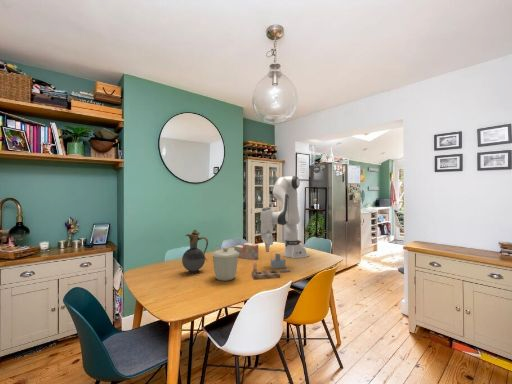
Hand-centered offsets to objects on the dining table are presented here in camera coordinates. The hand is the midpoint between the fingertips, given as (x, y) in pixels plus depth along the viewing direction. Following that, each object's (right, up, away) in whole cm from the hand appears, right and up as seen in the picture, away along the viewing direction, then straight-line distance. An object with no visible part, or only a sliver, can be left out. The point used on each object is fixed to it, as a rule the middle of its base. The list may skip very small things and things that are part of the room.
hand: (267, 248), depth 180 cm
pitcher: (-52, -16, -5) cm, 54 cm away
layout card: (+12, -16, -4) cm, 20 cm away
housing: (+8, -15, +6) cm, 18 cm away
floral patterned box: (-17, -16, +32) cm, 40 cm away
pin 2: (0, -2, 0) cm, 2 cm away
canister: (-29, -16, -18) cm, 37 cm away
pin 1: (-9, -16, -3) cm, 18 cm away
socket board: (-2, -16, -14) cm, 21 cm away
